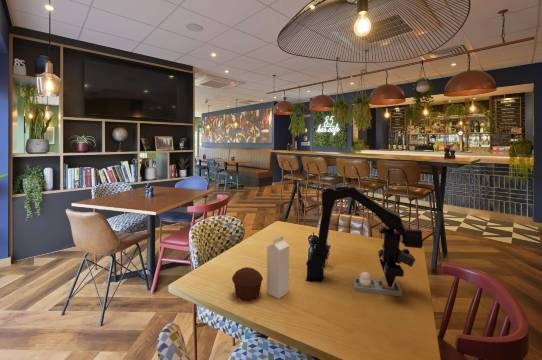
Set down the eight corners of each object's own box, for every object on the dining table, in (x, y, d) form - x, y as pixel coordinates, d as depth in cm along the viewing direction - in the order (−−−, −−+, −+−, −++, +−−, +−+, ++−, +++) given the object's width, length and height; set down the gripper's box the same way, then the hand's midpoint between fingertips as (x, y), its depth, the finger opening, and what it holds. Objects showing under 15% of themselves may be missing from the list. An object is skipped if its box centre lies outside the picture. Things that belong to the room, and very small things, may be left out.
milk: (288, 292, 112) (290, 237, 109) (278, 299, 107) (280, 242, 104) (276, 287, 116) (277, 234, 113) (266, 293, 111) (267, 238, 108)
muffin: (267, 291, 113) (268, 267, 111) (254, 306, 103) (254, 279, 101) (241, 284, 118) (241, 261, 116) (226, 298, 108) (225, 272, 106)
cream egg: (359, 289, 114) (360, 274, 113) (358, 283, 118) (359, 269, 117) (371, 290, 113) (372, 275, 112) (369, 284, 117) (370, 270, 117)
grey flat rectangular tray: (354, 291, 113) (354, 287, 113) (353, 281, 121) (353, 277, 120) (401, 297, 109) (402, 292, 109) (397, 286, 117) (397, 282, 117)
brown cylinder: (383, 291, 112) (383, 276, 112) (381, 286, 116) (381, 271, 116) (395, 292, 111) (395, 277, 111) (393, 287, 116) (393, 272, 115)
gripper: (421, 256, 101) (417, 298, 103) (407, 238, 119) (405, 274, 121) (387, 253, 103) (384, 294, 105) (379, 236, 121) (376, 271, 123)
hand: (388, 282), depth 113 cm, fingers open, 5 cm apart
